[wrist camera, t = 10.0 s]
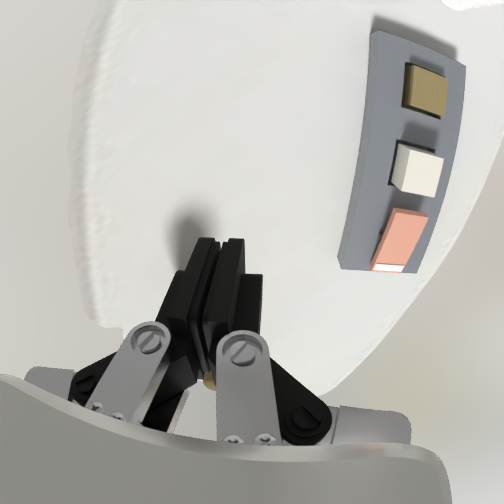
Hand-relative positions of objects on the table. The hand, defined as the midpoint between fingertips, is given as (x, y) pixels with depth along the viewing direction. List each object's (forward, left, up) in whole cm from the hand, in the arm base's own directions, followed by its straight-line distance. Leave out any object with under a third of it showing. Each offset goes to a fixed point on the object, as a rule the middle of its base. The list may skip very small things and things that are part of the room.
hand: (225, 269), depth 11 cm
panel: (-1, +19, -25) cm, 31 cm away
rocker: (+9, +19, -20) cm, 29 cm away
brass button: (-11, +19, -24) cm, 32 cm away
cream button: (-1, +19, -22) cm, 29 cm away
